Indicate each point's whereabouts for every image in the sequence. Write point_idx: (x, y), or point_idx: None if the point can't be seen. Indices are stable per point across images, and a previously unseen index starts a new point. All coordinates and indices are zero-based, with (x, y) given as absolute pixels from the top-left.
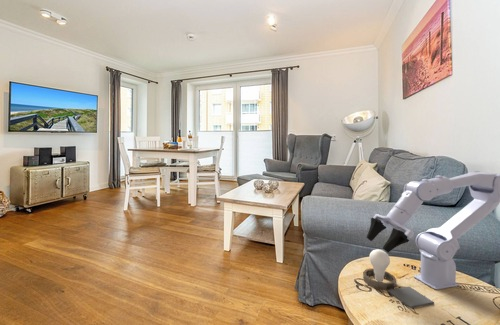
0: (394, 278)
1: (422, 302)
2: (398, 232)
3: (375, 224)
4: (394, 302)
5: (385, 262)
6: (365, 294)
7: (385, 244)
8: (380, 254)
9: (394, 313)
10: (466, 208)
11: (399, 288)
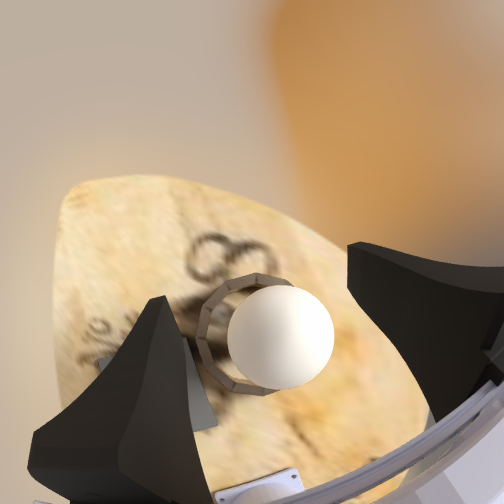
0: (243, 389)
1: None
2: (33, 447)
3: (455, 304)
4: (125, 324)
5: (229, 349)
6: (167, 246)
7: (152, 314)
8: (257, 330)
9: (76, 292)
10: None
11: (198, 384)
